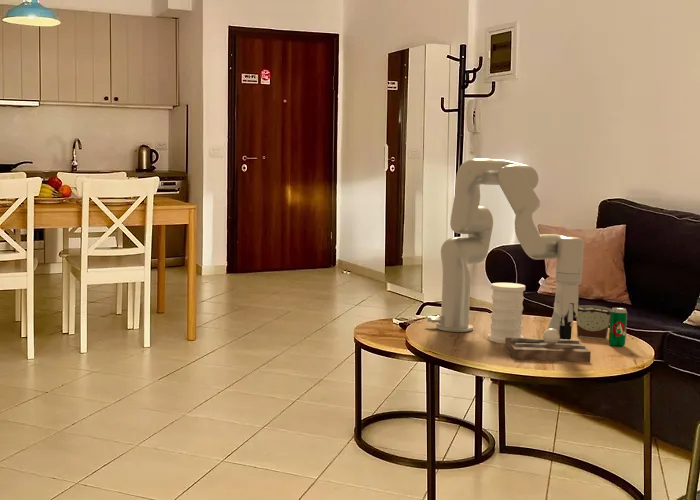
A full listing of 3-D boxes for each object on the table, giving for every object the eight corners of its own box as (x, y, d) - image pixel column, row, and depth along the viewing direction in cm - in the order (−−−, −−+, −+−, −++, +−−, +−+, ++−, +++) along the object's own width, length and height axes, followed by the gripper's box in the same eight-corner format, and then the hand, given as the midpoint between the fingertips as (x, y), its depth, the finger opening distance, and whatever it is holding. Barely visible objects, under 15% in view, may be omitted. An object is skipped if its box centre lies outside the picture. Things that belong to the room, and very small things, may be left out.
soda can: (613, 343, 261) (616, 306, 260) (628, 346, 257) (630, 309, 256) (605, 345, 257) (607, 308, 256) (619, 348, 254) (622, 310, 252)
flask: (565, 331, 279) (567, 302, 278) (569, 335, 272) (570, 306, 270) (544, 330, 279) (546, 301, 278) (547, 334, 272) (549, 305, 271)
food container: (611, 336, 272) (613, 307, 271) (611, 339, 266) (613, 309, 265) (573, 332, 276) (575, 303, 275) (572, 336, 270) (574, 306, 269)
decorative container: (501, 344, 253) (504, 288, 251) (480, 337, 264) (483, 283, 262) (531, 342, 258) (534, 287, 256) (509, 335, 269) (512, 281, 267)
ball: (563, 344, 239) (547, 348, 239) (559, 340, 244) (543, 344, 244) (559, 328, 238) (543, 332, 239) (555, 324, 243) (539, 328, 244)
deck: (514, 359, 234) (514, 346, 234) (505, 347, 250) (505, 335, 250) (590, 361, 234) (590, 349, 233) (576, 349, 250) (576, 337, 249)
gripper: (550, 274, 247) (546, 333, 249) (562, 281, 232) (558, 343, 234) (574, 275, 247) (571, 334, 249) (588, 282, 232) (584, 344, 234)
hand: (564, 338), depth 241 cm, fingers closed
